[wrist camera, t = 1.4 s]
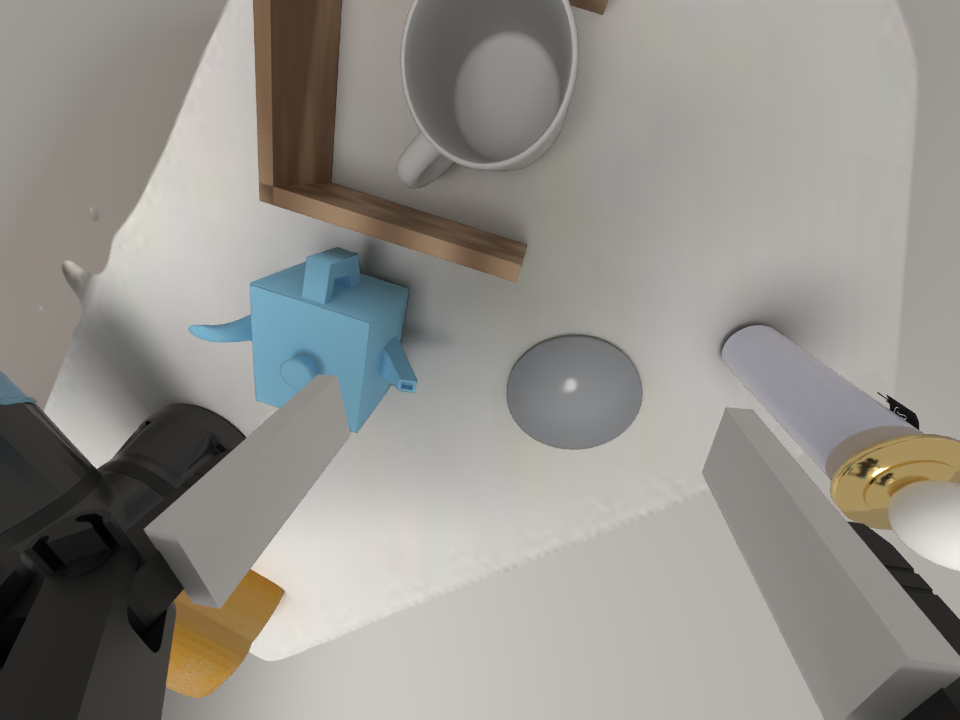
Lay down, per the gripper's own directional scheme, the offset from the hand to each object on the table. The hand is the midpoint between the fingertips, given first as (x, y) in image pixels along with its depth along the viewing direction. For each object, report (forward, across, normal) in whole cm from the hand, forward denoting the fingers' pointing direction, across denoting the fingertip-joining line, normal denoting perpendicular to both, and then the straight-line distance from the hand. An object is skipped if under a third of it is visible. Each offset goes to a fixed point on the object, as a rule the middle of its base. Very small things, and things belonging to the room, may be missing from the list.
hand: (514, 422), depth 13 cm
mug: (+22, -4, +11) cm, 25 cm away
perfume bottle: (+22, +19, -6) cm, 29 cm away
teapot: (+22, -18, -5) cm, 28 cm away
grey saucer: (+22, +4, -12) cm, 25 cm away
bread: (+21, -54, -55) cm, 80 cm away
